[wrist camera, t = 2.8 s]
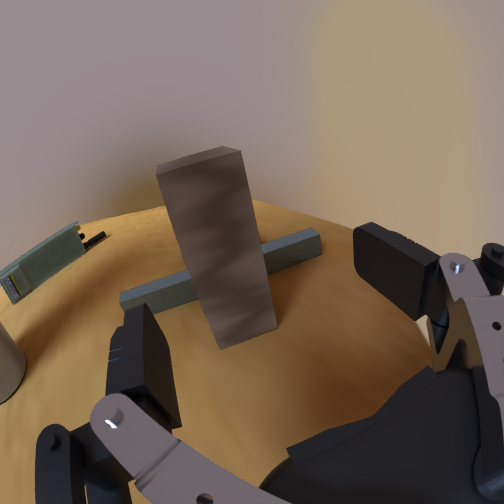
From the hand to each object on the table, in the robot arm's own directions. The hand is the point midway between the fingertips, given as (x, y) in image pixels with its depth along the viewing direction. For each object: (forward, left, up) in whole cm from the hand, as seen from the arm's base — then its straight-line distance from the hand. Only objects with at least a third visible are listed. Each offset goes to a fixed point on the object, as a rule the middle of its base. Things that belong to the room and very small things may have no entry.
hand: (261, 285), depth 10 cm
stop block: (-3, +10, -10) cm, 15 cm away
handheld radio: (-40, +29, -11) cm, 50 cm away
